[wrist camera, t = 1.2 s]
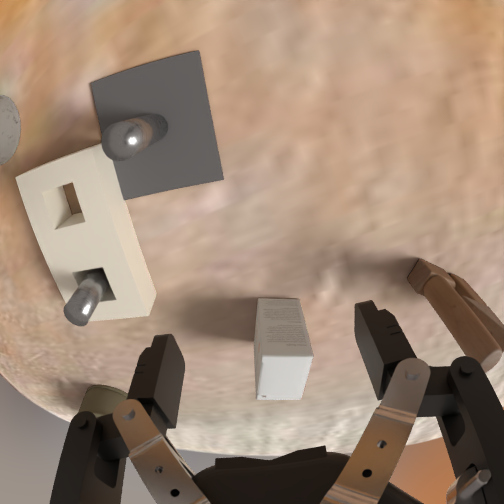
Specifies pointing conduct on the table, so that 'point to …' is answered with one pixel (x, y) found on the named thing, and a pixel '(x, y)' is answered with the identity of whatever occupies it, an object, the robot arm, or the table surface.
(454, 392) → the robot arm
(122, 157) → the steel pin
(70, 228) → the bore block
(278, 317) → the small box
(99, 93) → the mat
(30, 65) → the table surface
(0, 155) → the grey concrete cylinder
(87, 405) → the can
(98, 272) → the seated pin
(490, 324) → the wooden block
